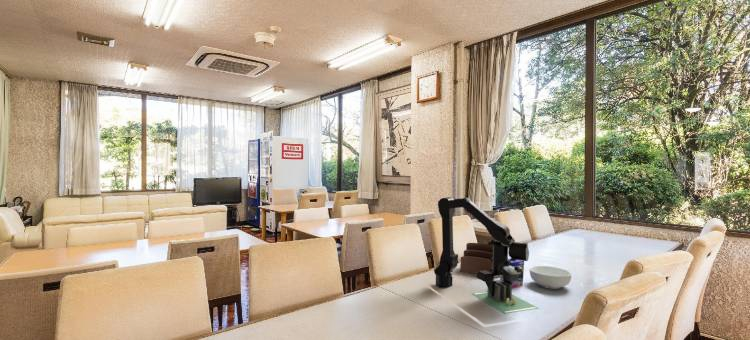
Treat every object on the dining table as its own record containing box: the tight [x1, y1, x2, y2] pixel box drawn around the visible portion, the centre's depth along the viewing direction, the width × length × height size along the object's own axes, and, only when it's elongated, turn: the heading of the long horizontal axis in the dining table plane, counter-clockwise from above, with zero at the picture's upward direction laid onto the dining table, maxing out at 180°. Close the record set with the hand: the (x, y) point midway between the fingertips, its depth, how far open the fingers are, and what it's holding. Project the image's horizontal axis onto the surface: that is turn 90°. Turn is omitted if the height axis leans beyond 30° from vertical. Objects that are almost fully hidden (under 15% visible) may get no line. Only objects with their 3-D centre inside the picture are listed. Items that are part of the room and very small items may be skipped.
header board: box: [471, 291, 540, 314], centre depth 138 cm, size 16×20×3 cm
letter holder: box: [459, 242, 498, 279], centre depth 176 cm, size 10×20×14 cm, turn 57°
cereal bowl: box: [529, 265, 572, 290], centre depth 158 cm, size 17×17×7 cm
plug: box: [487, 279, 513, 302], centre depth 140 cm, size 6×6×6 cm
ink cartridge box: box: [499, 257, 525, 289], centre depth 156 cm, size 10×6×14 cm, turn 118°
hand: (499, 295), depth 140 cm, fingers closed on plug, 6 cm apart
